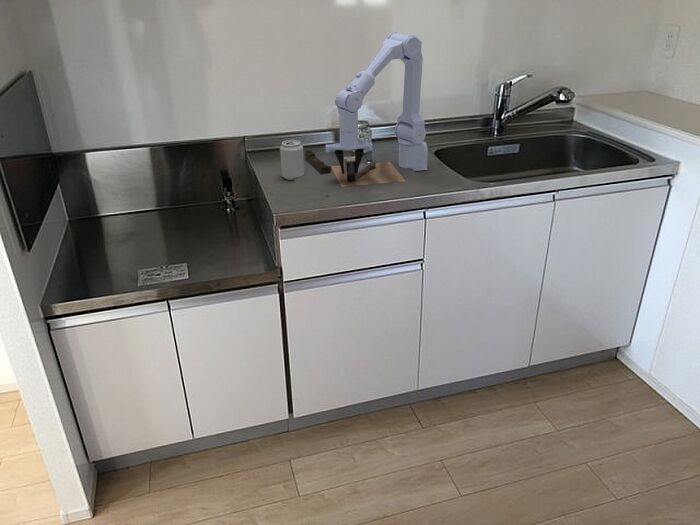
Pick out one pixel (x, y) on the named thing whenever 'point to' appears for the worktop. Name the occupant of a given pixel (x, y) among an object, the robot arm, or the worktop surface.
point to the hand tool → (317, 163)
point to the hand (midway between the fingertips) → (349, 172)
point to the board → (369, 174)
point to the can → (292, 159)
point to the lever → (363, 168)
